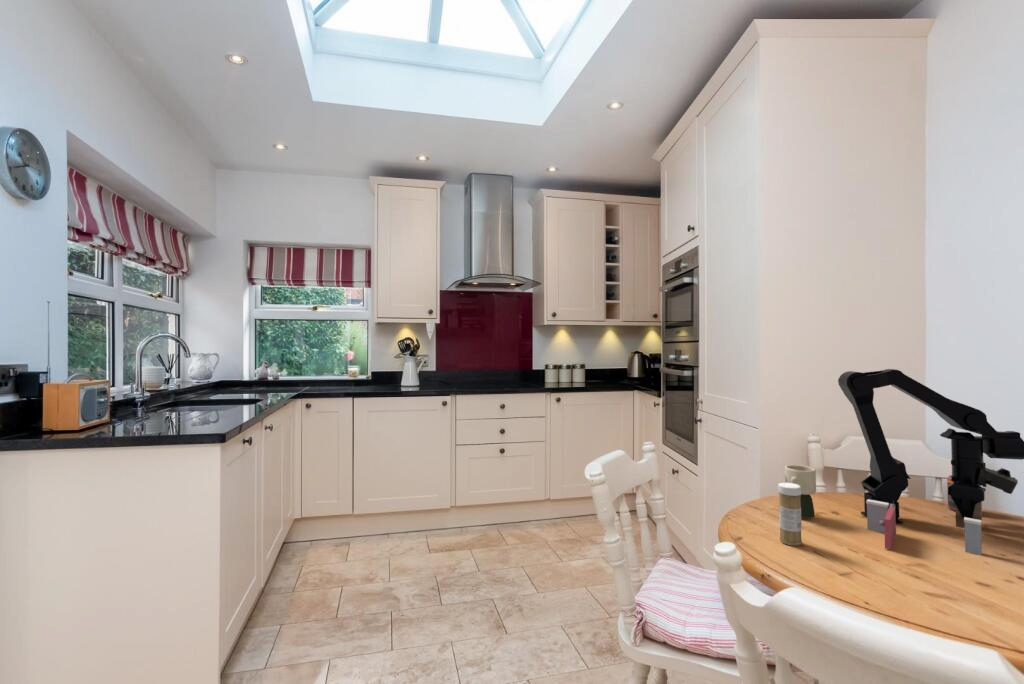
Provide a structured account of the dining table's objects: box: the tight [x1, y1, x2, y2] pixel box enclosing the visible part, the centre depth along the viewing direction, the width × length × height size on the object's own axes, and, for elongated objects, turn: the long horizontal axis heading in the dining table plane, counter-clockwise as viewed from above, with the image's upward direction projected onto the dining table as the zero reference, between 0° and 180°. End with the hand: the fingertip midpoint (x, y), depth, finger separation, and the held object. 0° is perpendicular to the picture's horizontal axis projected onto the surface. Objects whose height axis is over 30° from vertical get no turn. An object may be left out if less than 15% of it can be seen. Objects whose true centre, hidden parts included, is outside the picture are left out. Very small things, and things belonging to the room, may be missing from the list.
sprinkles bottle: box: [777, 482, 803, 547], centre depth 107 cm, size 5×5×14 cm
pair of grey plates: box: [866, 499, 983, 556], centre depth 108 cm, size 20×2×7 cm, turn 43°
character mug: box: [784, 464, 817, 519], centre depth 124 cm, size 11×7×13 cm, turn 129°
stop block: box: [955, 501, 983, 532], centre depth 116 cm, size 4×4×7 cm
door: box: [879, 507, 897, 550], centre depth 107 cm, size 11×2×6 cm, turn 136°
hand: (968, 519), depth 116 cm, fingers open, 6 cm apart
